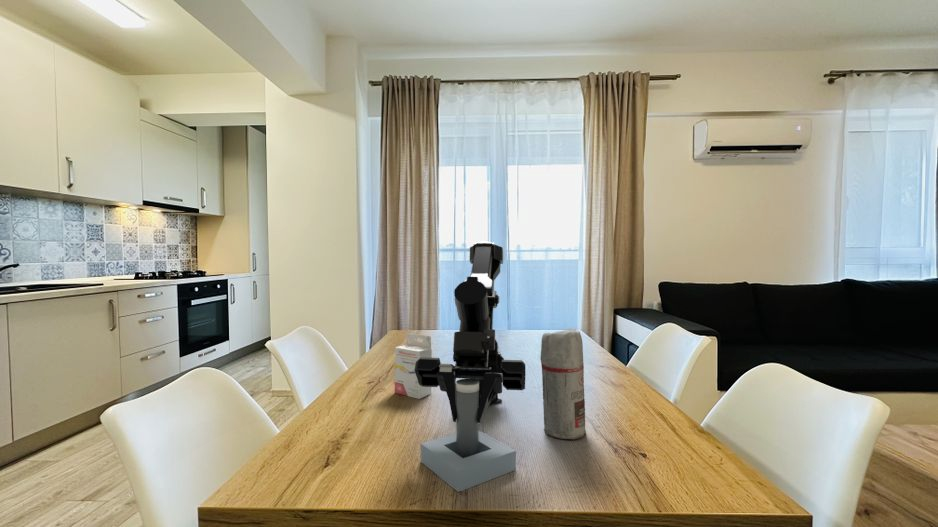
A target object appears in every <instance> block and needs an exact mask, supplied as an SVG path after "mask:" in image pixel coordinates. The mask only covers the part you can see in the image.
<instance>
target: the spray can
mask: <svg viewBox="0 0 938 527" xmlns="http://www.w3.org/2000/svg"><path fill="white" fill-rule="evenodd" d="M583 344H584V343H583V337H582V335H581V331H578V330H576V329H575V328H567V329H565V330H560V331H559V330H558V331H554V332H547V333H543V334H542V336H541V350H540V356H539V357H540V364H541V376H542V377H541V379H542V381H541V383H542V399H543V400H542V404H543V425H544V427H543V428H544V429H543V430H544V433H545V434H547V435H548V436H551V437H553V438H557V439H563V440H577V439H580V438H582V437H584V435H585V434H586V433H587V431H586V407H585V406H586V404H585V403H586V401H585V400H586V399H585V383H584V382H585V379H584V376H585V375H584V374H585V370H584V369H585V368H584V367H585V366H584V364H585V363H584V351H583V349H584V348H583V347H584V346H583Z"/></svg>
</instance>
